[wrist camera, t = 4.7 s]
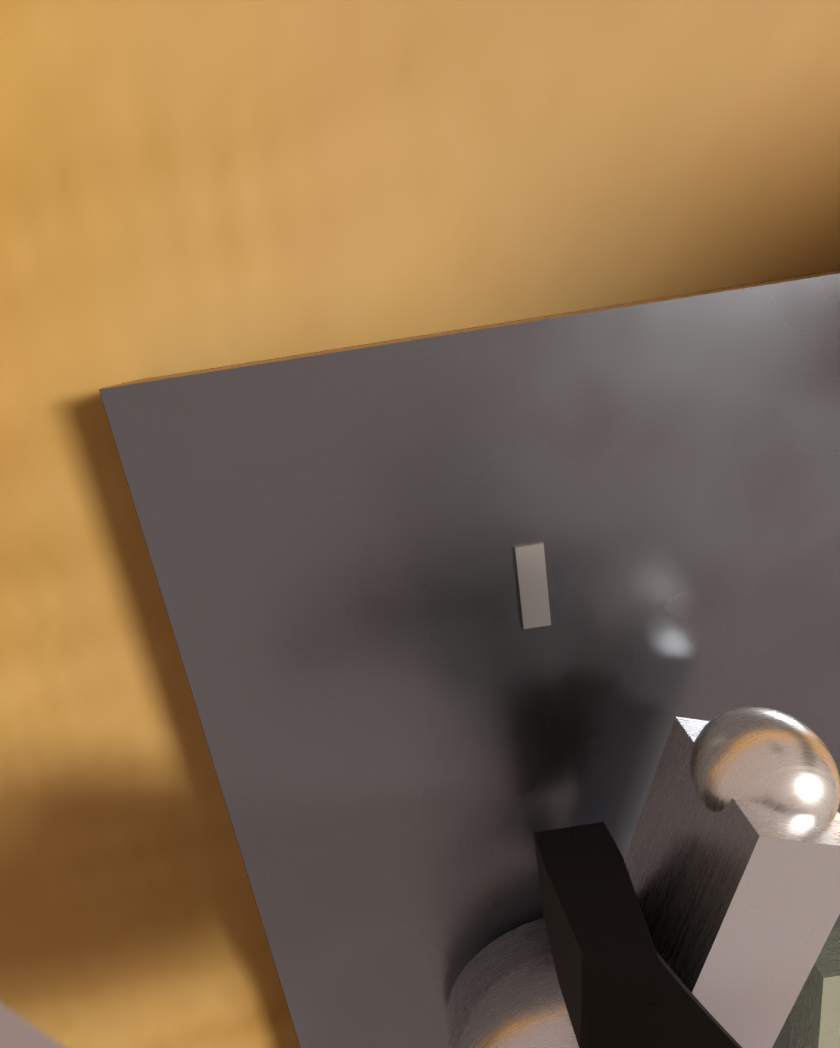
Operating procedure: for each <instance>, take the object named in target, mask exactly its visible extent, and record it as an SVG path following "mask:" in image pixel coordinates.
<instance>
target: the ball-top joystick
mask: <svg viewBox="0 0 840 1048" xmlns="http://www.w3.org/2000/svg"><path fill="white" fill-rule="evenodd" d="M839 804H840V777H839V772H838V769H837V766H836V763H835V761H834V759H833V757H832V755H831V753H830V751H829V750H828V748H827V747H826V745H825V744H824V743H823V741H822V740H821V739H820V738H819V737H818V736H817V735H816V734H815V733H814V732H813V731H812V730H811V729H810V728H809V727H808V726H806V725H805V724H803V723H802V722H801V721H799V720H797V719H796V718H794V717H792V716H790V715H788V714H786V713H783V712H780V711H778V710H774V709H770V708H765V707H755V706H749V707H739V708H735V709H731V710H728V711H726V712H723V713H721V714H719V715H717V716H716V717H714V718H713V719H712V720H710V721H705V720H698V719H690V718H683V717H676V716H675V719H674V722H673V725H672V728H671V730H670V733H669V736H668V739H667V742H666V744H665V747H664V750H663V753H662V756H661V759H660V761H659V764H658V767H657V770H656V773H655V775H654V778H653V781H652V784H651V787H650V789H649V792H648V795H647V798H646V801H645V804H644V806H643V809H642V812H641V815H640V818H639V820H638V823H637V826H636V829H635V832H634V834H633V837H632V840H631V843H630V846H629V849H628V851H627V854H626V857H625V860H624V862H625V864H626V867H627V870H628V873H629V876H630V878H631V881H632V884H633V887H634V890H635V892H636V895H637V898H638V901H639V904H640V907H641V909H642V912H643V915H644V918H645V921H646V924H647V927H648V929H649V932H650V935H651V938H652V941H653V944H654V947H655V949H656V951H657V952H658V954H659V955H660V956H661V957H662V958H663V960H664V961H665V962H666V963H667V964H668V966H669V967H670V968H671V969H672V970H673V972H674V973H675V974H676V975H677V976H678V977H679V979H680V980H681V981H682V982H683V983H684V985H685V986H686V987H687V988H688V989H689V990H690V991H691V993H692V994H693V995H694V996H695V997H696V998H697V999H698V1001H699V1002H700V1003H701V1004H702V1005H703V1006H704V1007H705V1008H706V1009H707V1011H708V1012H709V1013H710V1014H711V1015H712V1016H713V1017H714V1018H715V1019H716V1020H717V1021H718V1022H719V1024H720V1025H721V1026H722V1027H723V1028H724V1029H725V1030H726V1031H727V1032H728V1033H729V1034H730V1035H731V1036H732V1037H733V1038H734V1039H735V1040H736V1041H737V1043H738V1044H739V1045H740V1046H741V1047H742V1048H772V1047H773V1045H774V1043H775V1041H776V1039H777V1037H778V1035H779V1033H780V1031H781V1029H782V1027H783V1025H784V1023H785V1021H786V1019H787V1017H788V1015H789V1013H790V1011H791V1009H792V1007H793V1005H794V1003H795V1001H796V999H797V997H798V995H799V993H800V991H801V989H802V987H803V985H804V983H805V981H806V980H807V978H808V976H809V974H810V972H811V970H812V968H813V966H814V964H815V962H816V960H817V958H818V956H819V954H820V952H821V950H822V948H823V946H824V944H825V942H826V940H827V938H828V936H829V934H830V932H831V930H832V928H833V926H834V924H835V922H836V920H837V918H838V916H839V914H840V814H839V812H838V808H839ZM446 1028H447V1042H448V1048H579V1046H578V1043H577V1039H576V1036H575V1033H574V1030H573V1027H572V1024H571V1021H570V1017H569V1014H568V1011H567V1008H566V1005H565V1002H564V998H563V995H562V992H561V989H560V986H559V982H558V978H557V974H556V970H555V965H554V961H553V957H552V952H551V948H550V943H549V939H548V934H547V930H546V926H545V921H544V918H541V919H538V920H535V921H532V922H530V923H527V924H524V925H522V926H520V927H518V928H515V929H513V930H511V931H509V932H507V933H506V934H504V935H502V936H501V937H499V938H497V939H496V940H494V941H493V942H491V943H490V944H489V945H487V946H486V947H485V948H484V949H482V950H481V951H480V952H479V953H478V954H477V955H476V956H475V957H474V958H473V959H472V960H471V961H470V962H469V963H468V964H467V965H466V967H465V968H464V969H463V971H462V972H461V973H460V975H459V976H458V978H457V980H456V982H455V984H454V985H453V987H452V990H451V993H450V996H449V998H448V1004H447V1009H446Z"/></svg>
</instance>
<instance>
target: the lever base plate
mask: <svg viewBox="0 0 840 1048" xmlns="http://www.w3.org/2000/svg"><path fill="white" fill-rule="evenodd" d="M99 391H100V394H101V397H102V401H103V404H104V407H105V410H106V414H107V417H108V420H109V423H110V427H111V430H112V433H113V437H114V440H115V443H116V446H117V450H118V453H119V456H120V459H121V463H122V466H123V469H124V472H125V476H126V479H127V482H128V486H129V489H130V492H131V495H132V499H133V502H134V505H135V508H136V512H137V515H138V518H139V522H140V525H141V528H142V531H143V535H144V538H145V541H146V544H147V548H148V551H149V554H150V557H151V561H152V564H153V567H154V571H155V574H156V577H157V580H158V584H159V587H160V590H161V593H162V597H163V600H164V603H165V606H166V610H167V613H168V616H169V620H170V623H171V626H172V629H173V633H174V636H175V639H176V642H177V646H178V649H179V652H180V655H181V659H182V662H183V665H184V669H185V672H186V675H187V678H188V682H189V685H190V688H191V691H192V695H193V698H194V701H195V705H196V708H197V711H198V714H199V718H200V721H201V724H202V727H203V731H204V734H205V737H206V740H207V744H208V747H209V750H210V754H211V757H212V760H213V763H214V767H215V770H216V773H217V776H218V780H219V783H220V786H221V789H222V793H223V796H224V799H225V803H226V806H227V809H228V812H229V816H230V819H231V822H232V825H233V829H234V832H235V835H236V839H237V842H238V845H239V848H240V852H241V855H242V858H243V861H244V865H245V868H246V871H247V874H248V878H249V881H250V884H251V888H252V891H253V894H254V897H255V901H256V904H257V907H258V910H259V914H260V917H261V920H262V923H263V927H264V930H265V933H266V937H267V940H268V943H269V946H270V950H271V953H272V956H273V959H274V963H275V966H276V969H277V972H278V976H279V979H280V982H281V986H282V989H283V992H284V995H285V999H286V1002H287V1005H288V1008H289V1012H290V1015H291V1018H292V1022H293V1025H294V1028H295V1031H296V1035H297V1038H298V1041H299V1044H300V1048H448V1042H447V1028H446V1009H447V1004H448V998H449V996H450V993H451V990H452V987H453V985H454V984H455V982H456V980H457V978H458V976H459V975H460V973H461V972H462V971H463V969H464V968H465V967H466V965H467V964H468V963H469V962H470V961H471V960H472V959H473V958H474V957H475V956H476V955H477V954H478V953H479V952H480V951H481V950H482V949H484V948H485V947H486V946H487V945H489V944H490V943H491V942H493V941H494V940H496V939H497V938H499V937H501V936H502V935H504V934H506V933H507V932H509V931H511V930H513V929H515V928H518V927H520V926H522V925H524V924H527V923H530V922H532V921H535V920H538V919H541V918H544V916H543V908H542V900H541V891H540V883H539V874H538V866H537V857H536V849H535V841H534V832H540V831H546V830H553V829H560V828H566V827H567V828H570V827H573V826H579V825H586V824H592V823H599V822H604V824H605V825H606V827H607V829H608V830H609V832H610V834H611V836H612V837H613V839H614V841H615V843H616V845H617V847H618V849H619V851H620V853H621V854H622V856H623V859H624V860H625V857H626V854H627V851H628V849H629V846H630V843H631V840H632V837H633V834H634V832H635V829H636V826H637V823H638V820H639V818H640V815H641V812H642V809H643V806H644V804H645V801H646V798H647V795H648V792H649V789H650V787H651V784H652V781H653V778H654V775H655V773H656V770H657V767H658V764H659V761H660V759H661V756H662V753H663V750H664V747H665V744H666V742H667V739H668V736H669V733H670V730H671V728H672V725H673V722H674V719H675V716H676V717H683V718H690V719H698V720H705V721H710V720H712V719H713V718H714V717H716V716H717V715H719V714H721V713H723V712H726V711H728V710H731V709H735V708H739V707H749V706H755V707H765V708H770V709H774V710H778V711H780V712H783V713H786V714H788V715H790V716H792V717H794V718H796V719H797V720H799V721H801V722H802V723H803V724H805V725H806V726H808V727H809V728H810V729H811V730H812V731H813V732H814V733H815V734H816V735H817V736H818V737H819V738H820V739H821V740H822V741H823V743H824V744H825V745H826V747H827V748H828V750H829V751H830V753H831V755H832V757H833V759H834V761H835V763H836V766H837V769H838V772H839V777H840V270H837V271H831V272H825V273H818V274H812V275H805V276H799V277H793V278H786V279H780V280H773V281H767V282H761V283H754V284H748V285H742V286H735V287H729V288H722V289H716V290H710V291H703V292H697V293H691V294H684V295H678V296H671V297H665V298H659V299H652V300H646V301H639V302H633V303H627V304H620V305H614V306H608V307H601V308H595V309H588V310H582V311H576V312H569V313H563V314H557V315H550V316H544V317H537V318H531V319H525V320H518V321H512V322H505V323H499V324H493V325H486V326H480V327H474V328H467V329H461V330H454V331H448V332H442V333H435V334H429V335H422V336H416V337H410V338H403V339H397V340H391V341H384V342H378V343H371V344H365V345H359V346H352V347H346V348H340V349H333V350H327V351H320V352H314V353H308V354H301V355H295V356H288V357H282V358H276V359H269V360H263V361H257V362H250V363H244V364H237V365H231V366H225V367H218V368H212V369H206V370H199V371H193V372H186V373H180V374H174V375H167V376H161V377H154V378H148V379H142V380H136V381H132V382H127V383H123V384H119V385H115V386H111V387H107V388H102V389H99ZM838 812H839V814H840V804H839V808H838ZM772 1048H840V914H839V916H838V918H837V920H836V922H835V924H834V926H833V928H832V930H831V932H830V934H829V936H828V938H827V940H826V942H825V944H824V946H823V948H822V950H821V952H820V954H819V956H818V958H817V960H816V962H815V964H814V966H813V968H812V970H811V972H810V974H809V976H808V978H807V980H806V981H805V983H804V985H803V987H802V989H801V991H800V993H799V995H798V997H797V999H796V1001H795V1003H794V1005H793V1007H792V1009H791V1011H790V1013H789V1015H788V1017H787V1019H786V1021H785V1023H784V1025H783V1027H782V1029H781V1031H780V1033H779V1035H778V1037H777V1039H776V1041H775V1043H774V1045H773V1047H772Z"/></svg>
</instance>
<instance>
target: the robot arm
mask: <svg viewBox="0 0 840 1048" xmlns="http://www.w3.org/2000/svg"><path fill="white" fill-rule="evenodd" d="M534 841H535V849H536V857H537V866H538V874H539V883H540V891H541V900H542V908H543V916H544V921H545V926H546V930H547V934H548V939H549V943H550V948H551V952H552V957H553V961H554V965H555V970H556V974H557V978H558V982H559V986H560V989H561V992H562V995H563V998H564V1002H565V1005H566V1008H567V1011H568V1014H569V1017H570V1021H571V1024H572V1027H573V1030H574V1033H575V1036H576V1039H577V1043H578V1046H579V1048H742V1047H741V1046H740V1045H739V1044H738V1043H737V1041H736V1040H735V1039H734V1038H733V1037H732V1036H731V1035H730V1034H729V1033H728V1032H727V1031H726V1030H725V1029H724V1028H723V1027H722V1026H721V1025H720V1024H719V1022H718V1021H717V1020H716V1019H715V1018H714V1017H713V1016H712V1015H711V1014H710V1013H709V1012H708V1011H707V1009H706V1008H705V1007H704V1006H703V1005H702V1004H701V1003H700V1002H699V1001H698V999H697V998H696V997H695V996H694V995H693V994H692V993H691V991H690V990H689V989H688V988H687V987H686V986H685V985H684V983H683V982H682V981H681V980H680V979H679V977H678V976H677V975H676V974H675V973H674V972H673V970H672V969H671V968H670V967H669V966H668V964H667V963H666V962H665V961H664V960H663V958H662V957H661V956H660V955H659V954H658V952H657V951H656V949H655V947H654V944H653V941H652V938H651V935H650V932H649V929H648V927H647V924H646V921H645V918H644V915H643V912H642V909H641V907H640V904H639V901H638V898H637V895H636V892H635V890H634V887H633V884H632V881H631V878H630V876H629V873H628V870H627V867H626V864H625V862H624V859H623V856H622V854H621V853H620V851H619V849H618V847H617V845H616V843H615V841H614V839H613V837H612V836H611V834H610V832H609V830H608V829H607V827H606V825H605V824H604V822H599V823H592V824H586V825H579V826H573V827H570V828H567V827H566V828H560V829H553V830H546V831H540V832H534Z"/></svg>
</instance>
